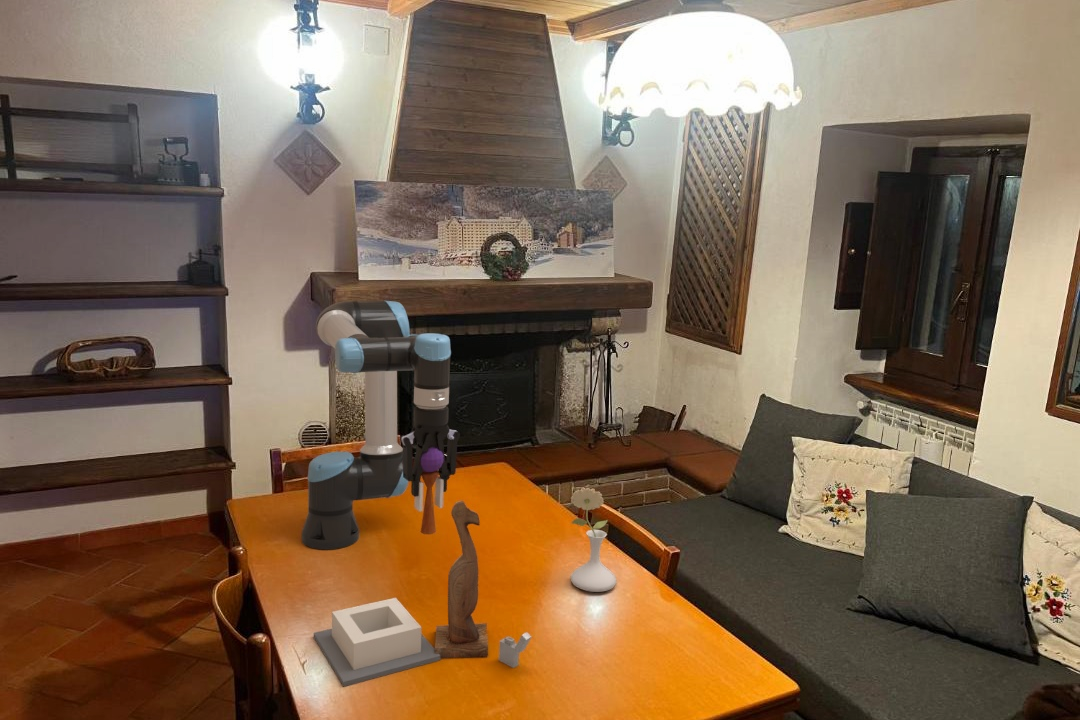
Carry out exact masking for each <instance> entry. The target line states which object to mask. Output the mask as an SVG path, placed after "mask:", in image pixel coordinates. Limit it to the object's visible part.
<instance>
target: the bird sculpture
mask: <svg viewBox="0 0 1080 720" xmlns="http://www.w3.org/2000/svg"><path fill="white" fill-rule="evenodd" d="M450 514H451V516H452V519H453V522H454V524H455V525H454V526H455V527H456V531H457V534H458V536H459V537H458V538H459V540H460V541H459V542H460V544H461V545H460V546H461V553H462V554H461V555H460V556H459V557H458V558H456V560H455V561H454V562H453V564H452V565H451V568H450V569H449V572H448V580H447V625H445V624H444V625H436V627H435V628H436V629H435V637H434V638H435V643H434V649H435V654H439V655H440V660H442V659H443V660H444V659H447V660H449V659H463V658H464V659H469V658H470V659H474V658H488V656H489V653H488V652H489V651H488V650H489V643H488V632H486V631H488V629H487V628H488V622H485V623H484V622H483V623H482V622H480V623H475V621H474V618H473V616H472V614H473V613H474V612H475V610H476V608H477V604H478V599H479V564H478V562H479V561H478V554H477V549H476V547H475V544H474V540H473V539H472V536H471V533H470V531H469V528H468V526H470V525H475V526H480V524H481V523H480V521H481V519H480V517H479V514H478V513H477V512H475V511H474V510H471V509H470V508H468V507H467V505H466V503H465V502H464V501H463V500H458V501H456V502H455V503H454V504H453V506H452V509H451V513H450Z"/></svg>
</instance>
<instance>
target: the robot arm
mask: <svg viewBox="0 0 1080 720" xmlns="http://www.w3.org/2000/svg"><path fill="white" fill-rule="evenodd" d="M408 318H409V317H408V315H407V311H406V309H405V307H404V306H403V304H402V303H401V302H399V301H390V300H343V301H339V302H336V303H333V304H331V305H329V306H327V307H326V308H324V309H323V310H322V311H321V312H320V313H319V315H318V316H317V319H316V321H315V322H316V323H315V330H316V334H317V336H318V338H319V339H320V340H321V341H322V343H324V344H325V345H327V346H329V347H332V348H334V362H335V365H336V369H337V371H338V372H341V373H351V374H356V373H364V411H365V412H364V414H365V416H364V421H365V423H364V425H365V426H364V427H365V429H364V430H365V431H364V432H365V433H364V434H365V443H364V445H363V446H362V447H361V448H360V449H359V456H358V457H355V456H354V455H353V454H352V453H351V452H349V451H341V450H339V451H331V452H326V453H323V454H320V455H318V456H316V457H314V458H312V460H311V461H310V462H309V464H308V471H307V472H308V473H307V482H308V483H307V484H308V485H307V489H308V490H307V491H308V492H307V493H308V495H307V497H308V501H307V502H308V503H307V506H308V507H307V508H308V510H307V511H308V513H307V515H306V519H305V521H304V523H303V527H302V530H301V542H302V544H303V545H304V546H306V547H308V548H311V549H315V550H324V551H325V550H327V551H328V550H338V549H343V548H347V547H349V546H352V545H354V544H356V542H357V541H358V540H359V539H360V528H359V525H358V522H357V519H356V516H355V513H354V509H353V508H354V507H353V505H354V501H355V502H356V501H364V500H372V499H374V500H375V499H383V498H384V499H385V498H386V499H389V498H391V497H397V496H401V495H403V494H404V493H405V491H406V490H407V489H408V486H409V482H410V483H411V486H410V487H411V489H410V493H411V495H412V496H413V497H414V509H416V511H418V512H419V513H420V512H424V505H423V504H424V503H423V502H424V481H422V480H421V479H422V476H421V474H422V471H423V468H422V466H421V458H422V455H423V454H424V453H427V452H428V448H431V447H438V449H439V451H442V453H443V455H444V461H443V464H442V466H441V467H440V468H439V469H438V470H437V471H439V475H438V477H437V479H436V481H435V483H434V486H435V487H434V505H435V506H437V507H438V508H439V509H443V507H444V493H446V492H447V490H448V480H450V477H451V476H454V475H456V472H457V471H456V469H457V454H458V441H459V439H460V437H461V432H459V431H457V430H455V429H450V427H449V425H448V423H449V412H450V411H449V407H448V405H449V402H450V400H449V399H450V397H449V396H450V375H451V374H450V370H451V369H450V367H451V355H452V350H451V339H450V337H449V336H448V335H446V334H441V333H430V332H429V333H421V334H415V333H413V334H410V331H411V330H410V322H409V319H408ZM402 371H414V378H413V379H414V380H413V381H414V383H413V384H414V386H413V388H414V389H413V404H414V407H413V427H412V429H411V432H410V433H408V434H406V435H404V434H402V435H401V436H400V437H399V440H400V442H401V444H402V446H401V445H400V443H398V372H402ZM446 438H447V441H446V443H447V446H446V456H445V451H444V450H445V444H444V441H445V439H446ZM414 441H416V450H415V451H416V452H415V455H414V460H413V446H412V445H413V444H414Z"/></svg>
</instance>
